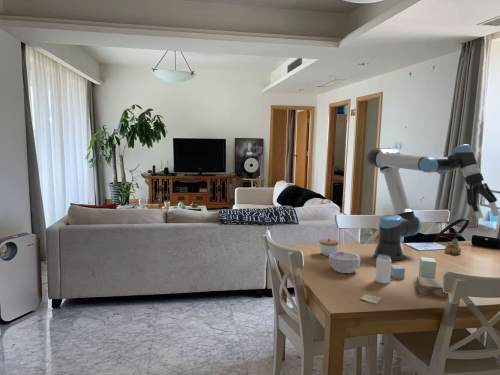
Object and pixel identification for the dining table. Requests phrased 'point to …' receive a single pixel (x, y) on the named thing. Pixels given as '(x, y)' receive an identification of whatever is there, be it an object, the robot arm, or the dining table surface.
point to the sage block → (427, 267)
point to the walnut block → (430, 286)
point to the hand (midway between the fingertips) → (488, 217)
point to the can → (383, 269)
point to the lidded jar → (328, 246)
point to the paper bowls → (344, 261)
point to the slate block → (397, 271)
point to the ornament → (453, 247)
